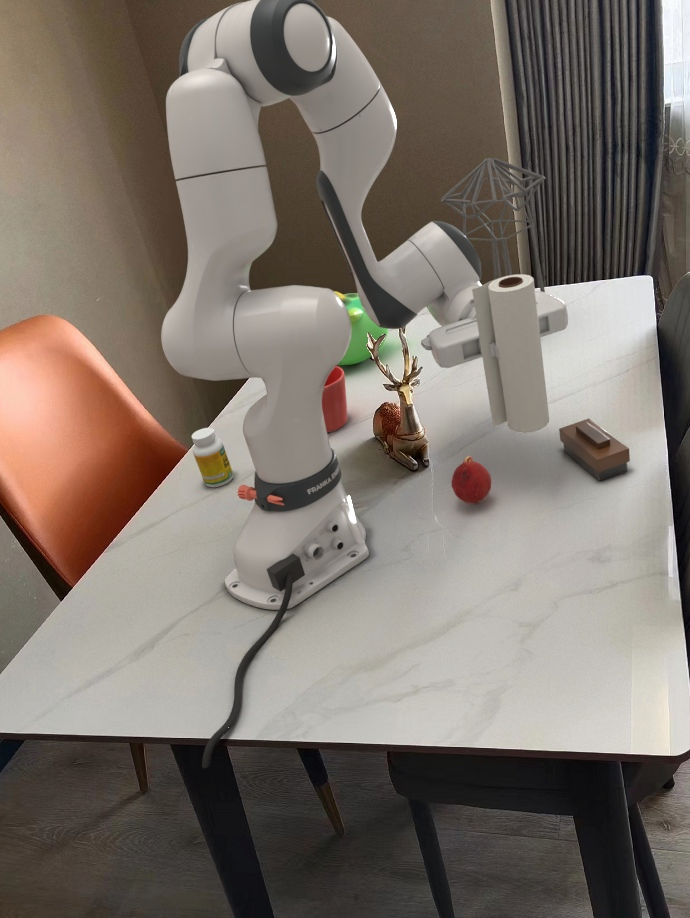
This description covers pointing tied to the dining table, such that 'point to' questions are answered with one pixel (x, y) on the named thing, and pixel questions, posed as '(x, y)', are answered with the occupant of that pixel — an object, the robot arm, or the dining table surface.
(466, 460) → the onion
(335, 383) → the flower pot
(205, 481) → the supplement bottle
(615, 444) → the chalkboard eraser
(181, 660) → the dining table surface
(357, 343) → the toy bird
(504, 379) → the paper towel roll
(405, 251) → the robot arm
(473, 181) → the geometric lantern
